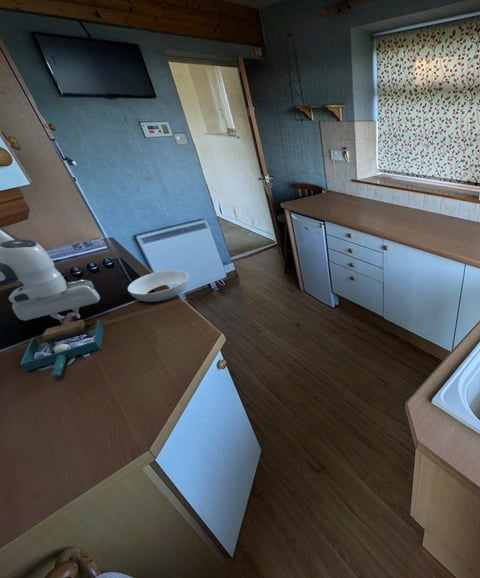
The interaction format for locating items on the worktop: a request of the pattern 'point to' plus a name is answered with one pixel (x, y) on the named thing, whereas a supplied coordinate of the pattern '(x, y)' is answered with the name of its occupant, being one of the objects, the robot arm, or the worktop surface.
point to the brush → (65, 330)
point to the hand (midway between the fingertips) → (71, 319)
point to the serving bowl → (157, 279)
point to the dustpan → (61, 356)
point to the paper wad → (61, 348)
